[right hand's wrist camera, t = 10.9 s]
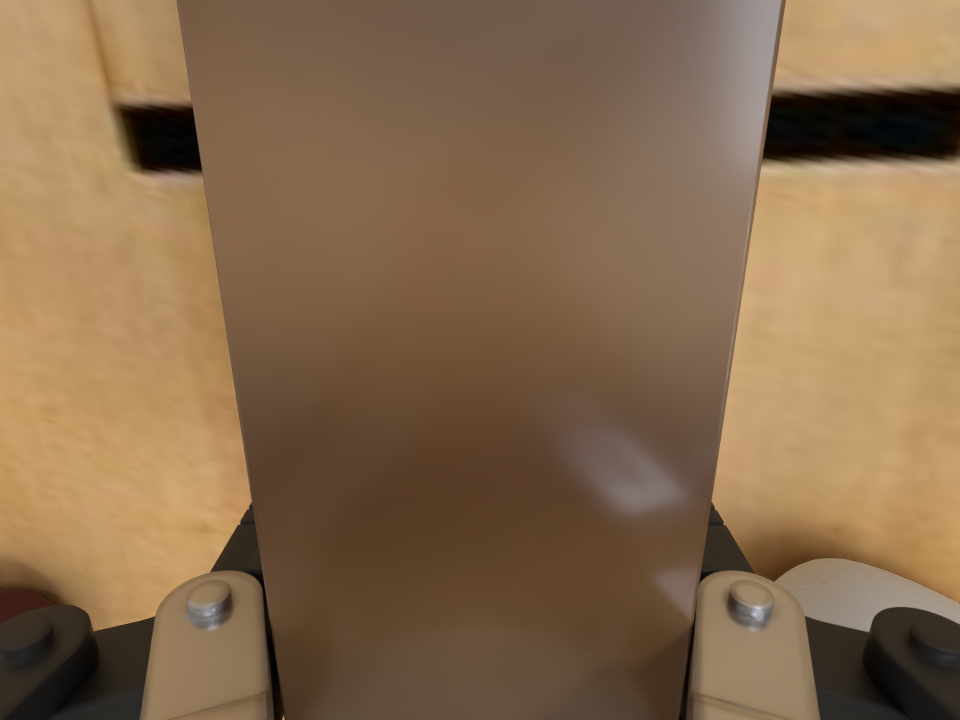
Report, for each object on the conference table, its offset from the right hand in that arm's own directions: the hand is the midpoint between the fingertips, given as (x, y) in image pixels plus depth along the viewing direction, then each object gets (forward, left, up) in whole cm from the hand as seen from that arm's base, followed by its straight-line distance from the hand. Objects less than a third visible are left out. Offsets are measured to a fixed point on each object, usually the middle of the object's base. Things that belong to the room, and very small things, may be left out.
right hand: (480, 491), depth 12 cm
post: (+22, -10, -3) cm, 25 cm away
